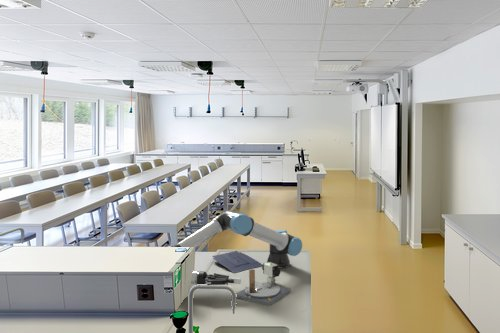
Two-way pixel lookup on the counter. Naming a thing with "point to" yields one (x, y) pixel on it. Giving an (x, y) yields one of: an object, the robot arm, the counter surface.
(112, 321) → the counter surface
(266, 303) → the dial plate
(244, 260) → the dark blue flat panel
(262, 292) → the peg stand
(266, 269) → the pneumatic valve
